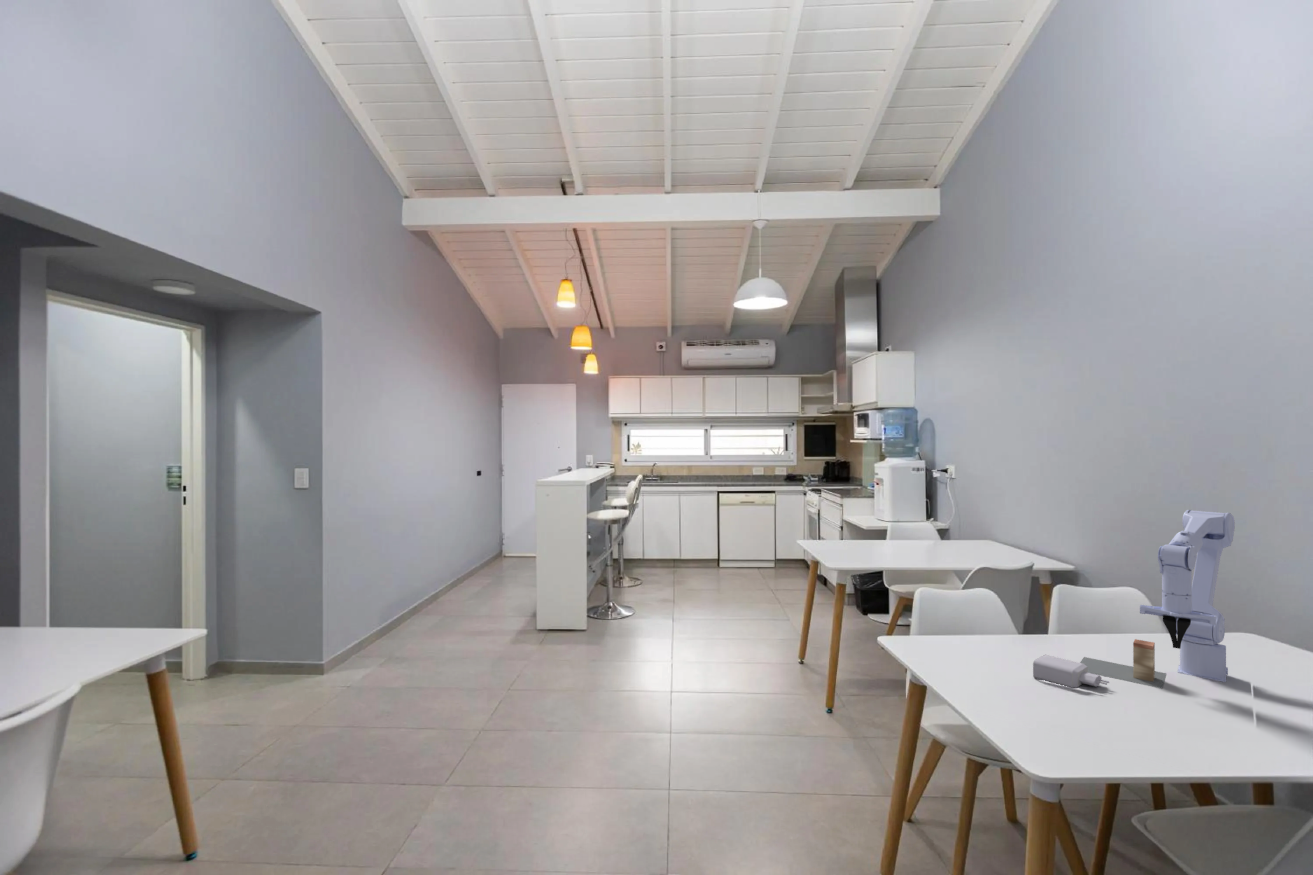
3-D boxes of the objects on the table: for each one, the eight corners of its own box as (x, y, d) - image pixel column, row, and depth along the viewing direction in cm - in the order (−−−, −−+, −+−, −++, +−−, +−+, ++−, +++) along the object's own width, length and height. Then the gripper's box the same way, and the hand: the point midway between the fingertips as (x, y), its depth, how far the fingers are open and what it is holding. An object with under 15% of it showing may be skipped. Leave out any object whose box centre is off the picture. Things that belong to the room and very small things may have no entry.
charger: (1101, 697, 147) (1032, 678, 159) (1114, 688, 153) (1046, 670, 164) (1101, 678, 147) (1032, 660, 159) (1114, 669, 153) (1046, 653, 164)
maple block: (1154, 677, 158) (1154, 642, 158) (1153, 681, 155) (1153, 646, 156) (1135, 673, 161) (1135, 639, 161) (1133, 677, 158) (1133, 642, 158)
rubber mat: (1166, 675, 161) (1166, 673, 161) (1162, 690, 151) (1162, 688, 151) (1084, 658, 174) (1084, 656, 174) (1074, 671, 163) (1074, 669, 163)
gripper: (1138, 590, 156) (1138, 644, 156) (1215, 601, 146) (1215, 658, 146) (1141, 586, 161) (1141, 638, 161) (1215, 596, 151) (1216, 651, 151)
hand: (1176, 647), depth 154 cm, fingers closed
